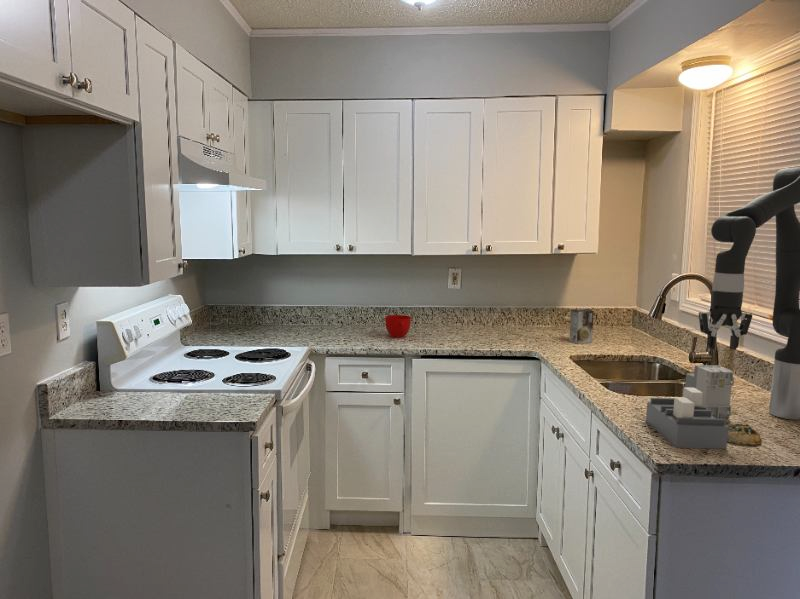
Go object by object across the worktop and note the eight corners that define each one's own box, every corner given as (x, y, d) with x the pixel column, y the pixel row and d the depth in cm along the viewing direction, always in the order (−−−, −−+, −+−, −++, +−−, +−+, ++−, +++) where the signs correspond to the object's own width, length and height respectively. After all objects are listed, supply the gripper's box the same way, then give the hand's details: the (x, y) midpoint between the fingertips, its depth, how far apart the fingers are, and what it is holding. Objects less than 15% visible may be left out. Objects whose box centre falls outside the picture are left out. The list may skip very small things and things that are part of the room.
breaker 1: (692, 404, 165) (694, 387, 164) (701, 409, 160) (702, 392, 159) (682, 404, 165) (683, 387, 164) (690, 409, 160) (691, 392, 159)
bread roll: (741, 430, 162) (743, 414, 161) (770, 450, 152) (774, 433, 150) (705, 433, 161) (708, 417, 159) (733, 453, 150) (736, 436, 149)
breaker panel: (690, 422, 168) (692, 397, 167) (726, 448, 148) (729, 421, 147) (645, 421, 169) (647, 396, 168) (675, 447, 149) (678, 419, 148)
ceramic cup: (389, 341, 275) (390, 320, 274) (382, 334, 292) (382, 315, 290) (415, 340, 278) (416, 320, 277) (407, 333, 295) (407, 314, 293)
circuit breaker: (703, 405, 184) (707, 360, 182) (730, 421, 170) (734, 372, 168) (680, 405, 184) (684, 360, 182) (705, 420, 170) (710, 372, 168)
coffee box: (584, 340, 286) (586, 308, 283) (592, 342, 280) (594, 310, 277) (568, 341, 283) (570, 309, 281) (576, 343, 277) (578, 311, 274)
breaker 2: (684, 415, 155) (685, 397, 155) (692, 421, 150) (694, 403, 150) (673, 414, 155) (674, 397, 155) (681, 421, 150) (682, 402, 150)
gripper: (746, 288, 161) (740, 346, 163) (694, 287, 162) (689, 345, 164) (762, 291, 154) (755, 352, 156) (708, 290, 154) (702, 351, 156)
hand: (722, 348), depth 160 cm, fingers open, 5 cm apart
